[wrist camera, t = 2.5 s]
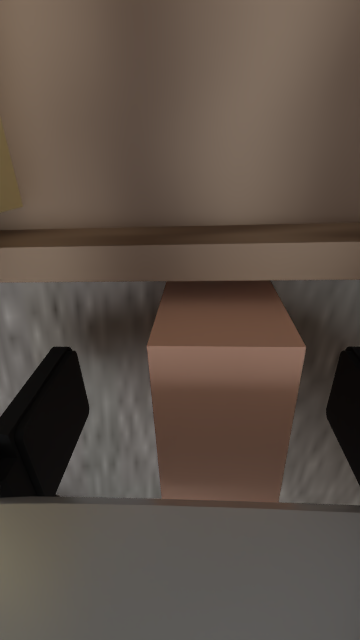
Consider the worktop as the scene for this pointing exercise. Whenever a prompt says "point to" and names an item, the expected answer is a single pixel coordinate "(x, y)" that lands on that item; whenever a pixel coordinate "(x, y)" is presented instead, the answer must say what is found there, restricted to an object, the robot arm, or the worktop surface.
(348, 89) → the brown wooden tray
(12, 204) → the book ochre
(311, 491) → the worktop surface
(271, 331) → the salmon brown rectangular block
